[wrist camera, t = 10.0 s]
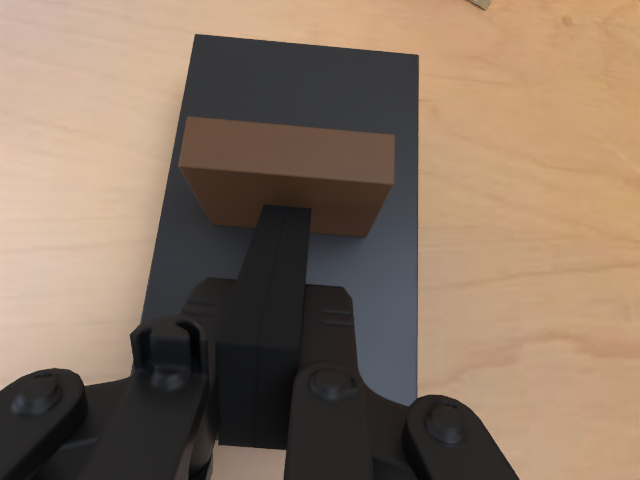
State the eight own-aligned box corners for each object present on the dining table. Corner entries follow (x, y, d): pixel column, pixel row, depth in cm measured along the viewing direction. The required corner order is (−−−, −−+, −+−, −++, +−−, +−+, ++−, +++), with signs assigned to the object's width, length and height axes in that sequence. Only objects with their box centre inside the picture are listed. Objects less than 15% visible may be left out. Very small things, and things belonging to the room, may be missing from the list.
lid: (412, 441, 15) (474, 479, 10) (127, 421, 15) (33, 449, 10) (415, 63, 20) (458, -49, 15) (197, 43, 20) (160, -79, 14)
